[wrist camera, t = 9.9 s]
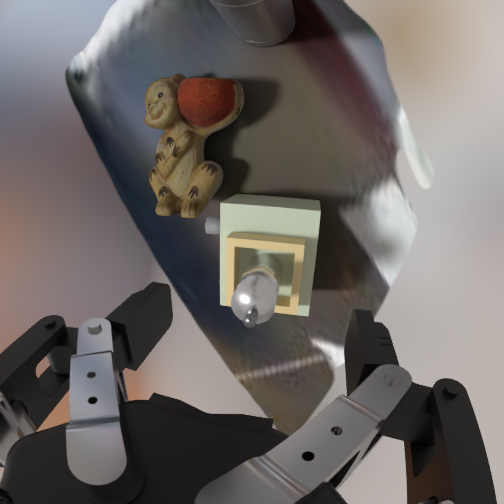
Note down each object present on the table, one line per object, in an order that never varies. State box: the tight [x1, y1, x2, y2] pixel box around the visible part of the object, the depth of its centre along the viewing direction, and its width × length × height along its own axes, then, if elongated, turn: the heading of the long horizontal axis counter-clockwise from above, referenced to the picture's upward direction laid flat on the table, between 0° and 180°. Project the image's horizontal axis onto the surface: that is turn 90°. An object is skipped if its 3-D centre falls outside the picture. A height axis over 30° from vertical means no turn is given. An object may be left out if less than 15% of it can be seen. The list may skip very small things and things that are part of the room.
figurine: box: [144, 73, 244, 218], centre depth 38 cm, size 15×9×20 cm
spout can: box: [231, 253, 283, 328], centre depth 33 cm, size 4×4×11 cm
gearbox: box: [205, 194, 321, 316], centre depth 40 cm, size 14×15×10 cm
